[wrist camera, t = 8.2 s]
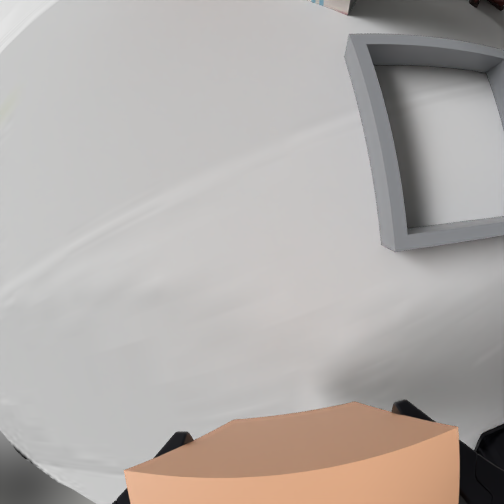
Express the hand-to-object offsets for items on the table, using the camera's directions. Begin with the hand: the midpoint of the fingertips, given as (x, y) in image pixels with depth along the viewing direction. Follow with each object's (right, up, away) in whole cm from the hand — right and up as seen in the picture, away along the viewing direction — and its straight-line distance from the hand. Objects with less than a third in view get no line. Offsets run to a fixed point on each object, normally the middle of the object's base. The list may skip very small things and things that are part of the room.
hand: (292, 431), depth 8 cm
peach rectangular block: (+1, -4, +5) cm, 7 cm away
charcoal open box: (+12, +13, +7) cm, 19 cm away
